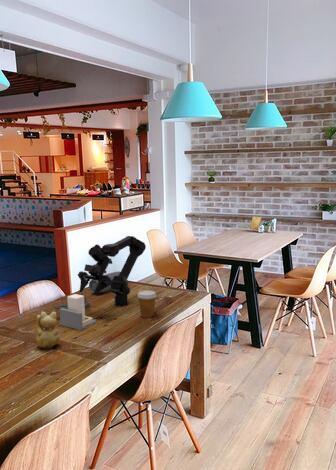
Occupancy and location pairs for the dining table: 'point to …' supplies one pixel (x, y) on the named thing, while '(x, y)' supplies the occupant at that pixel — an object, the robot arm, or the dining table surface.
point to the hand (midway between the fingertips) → (87, 293)
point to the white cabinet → (77, 304)
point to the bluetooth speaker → (94, 283)
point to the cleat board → (74, 319)
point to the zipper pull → (67, 305)
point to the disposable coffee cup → (147, 302)
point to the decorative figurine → (47, 330)
